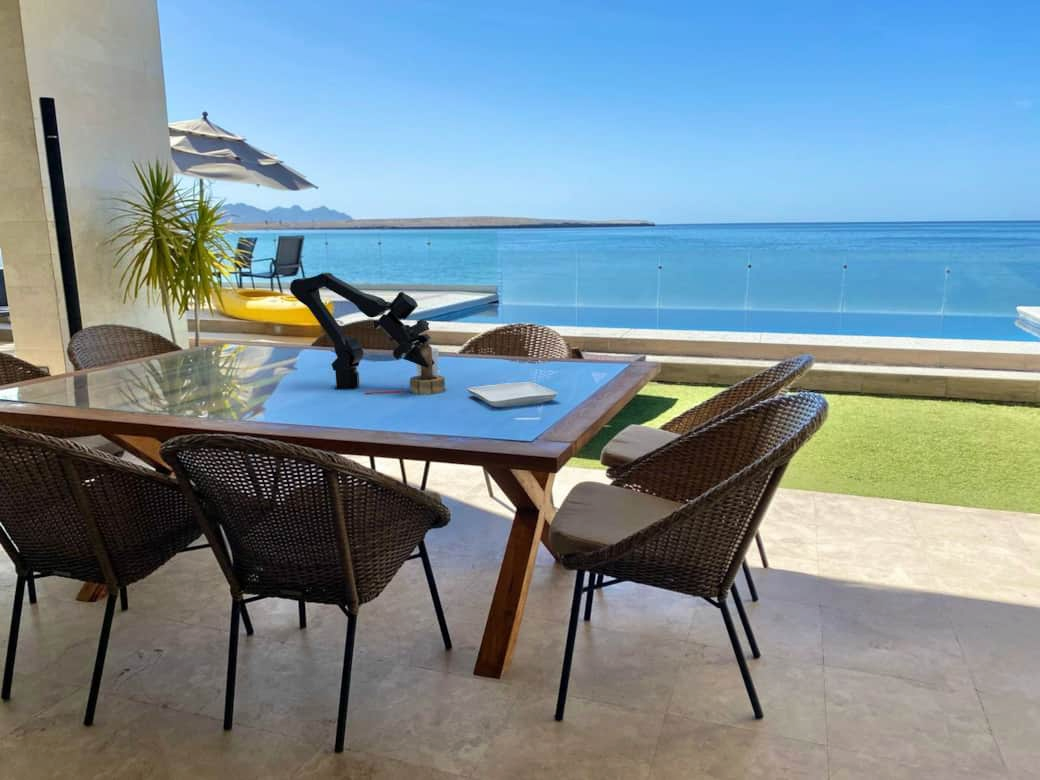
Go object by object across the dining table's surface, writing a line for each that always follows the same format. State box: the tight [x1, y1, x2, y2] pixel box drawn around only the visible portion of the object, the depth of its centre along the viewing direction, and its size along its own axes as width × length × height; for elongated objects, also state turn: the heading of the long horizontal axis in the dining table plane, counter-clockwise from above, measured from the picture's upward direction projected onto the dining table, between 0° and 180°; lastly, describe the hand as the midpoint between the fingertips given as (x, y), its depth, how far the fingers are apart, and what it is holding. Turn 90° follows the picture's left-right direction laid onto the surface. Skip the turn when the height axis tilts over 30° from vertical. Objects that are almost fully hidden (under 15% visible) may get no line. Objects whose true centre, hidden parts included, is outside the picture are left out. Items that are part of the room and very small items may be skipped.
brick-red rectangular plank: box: [364, 389, 405, 395], centre depth 240 cm, size 12×1×1 cm, turn 100°
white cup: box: [415, 347, 439, 376], centre depth 261 cm, size 8×8×10 cm
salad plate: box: [467, 381, 559, 408], centre depth 227 cm, size 21×21×3 cm
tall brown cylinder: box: [420, 342, 433, 380], centre depth 241 cm, size 4×4×15 cm
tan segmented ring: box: [409, 374, 446, 395], centre depth 242 cm, size 10×10×4 cm
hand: (430, 365), depth 240 cm, fingers open, 4 cm apart
